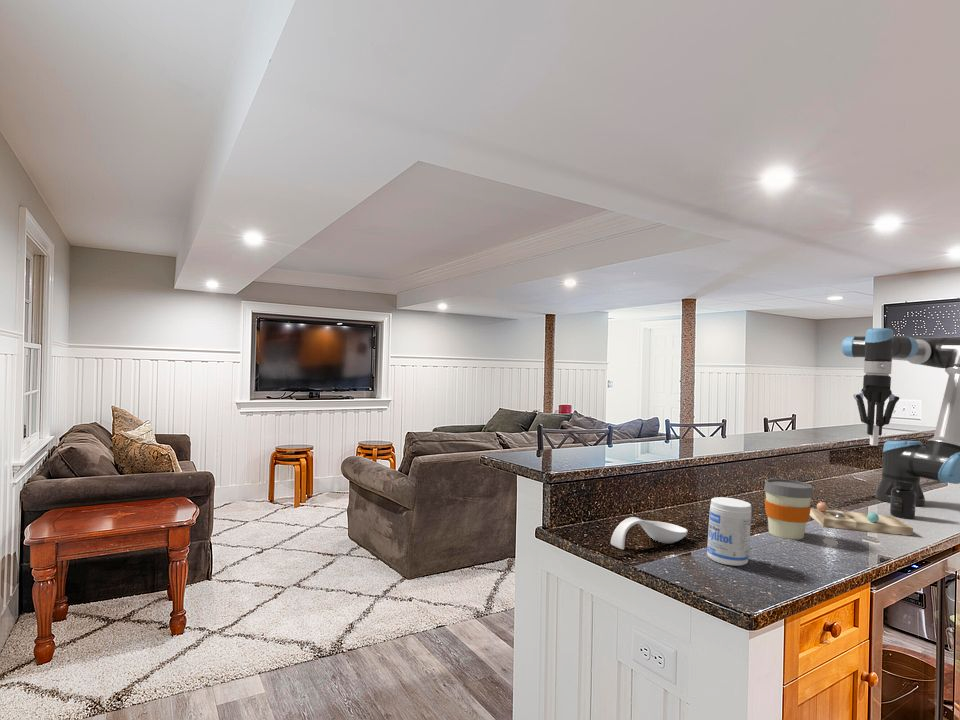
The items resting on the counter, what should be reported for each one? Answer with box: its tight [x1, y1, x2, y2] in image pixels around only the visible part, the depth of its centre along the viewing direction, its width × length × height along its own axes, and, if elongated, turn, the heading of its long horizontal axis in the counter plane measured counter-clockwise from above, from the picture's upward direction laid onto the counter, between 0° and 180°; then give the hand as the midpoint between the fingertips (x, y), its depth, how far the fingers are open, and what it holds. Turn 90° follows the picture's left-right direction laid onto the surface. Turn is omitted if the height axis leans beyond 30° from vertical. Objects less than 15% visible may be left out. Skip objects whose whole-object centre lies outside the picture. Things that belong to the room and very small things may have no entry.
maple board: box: [809, 507, 914, 536], centre depth 178 cm, size 24×13×2 cm, turn 76°
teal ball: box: [867, 511, 879, 523], centre depth 173 cm, size 3×3×3 cm
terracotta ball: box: [816, 501, 828, 512], centre depth 184 cm, size 3×3×3 cm
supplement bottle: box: [889, 480, 917, 520], centre depth 192 cm, size 7×7×12 cm
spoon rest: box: [610, 516, 689, 550], centre depth 152 cm, size 24×12×7 cm, turn 121°
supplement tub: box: [706, 496, 753, 567], centre depth 141 cm, size 10×10×15 cm
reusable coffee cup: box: [763, 478, 814, 540], centre depth 165 cm, size 13×13×15 cm
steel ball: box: [834, 513, 845, 517], centre depth 179 cm, size 3×3×3 cm
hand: (873, 444), depth 188 cm, fingers closed
